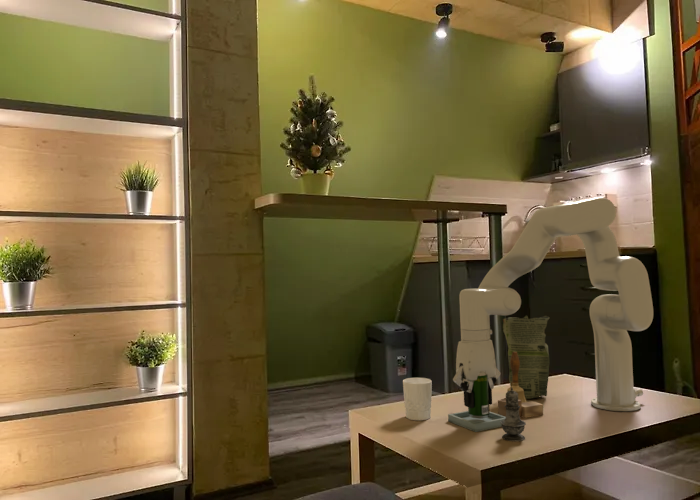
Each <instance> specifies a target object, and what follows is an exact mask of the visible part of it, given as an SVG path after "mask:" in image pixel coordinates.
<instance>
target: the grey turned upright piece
mask: <svg viewBox="0 0 700 500" xmlns="http://www.w3.org/2000/svg"><path fill="white" fill-rule="evenodd" d="M510 387H511V386H510ZM505 398H506V405H505V406H504V407H505V408H506V418H505V419H504V420H502V421H500V423H501V424H502V427H501V428H502V430H503V431H504V432H505V433H504V434H502V436H501V438H502V439H503V440H505V441H509V442H522V441H525V440H526V437H525V436H524V435H523V434H522V433H524V430H525V428H526V427H525V426H526V425H527V423H526V421H524V420H522V419H521V417H520V416H519V408H520V406H519V405H518V393H517V392H515V391H513V388H512V387H511V390H510V391H508V392H506V393H505Z"/></svg>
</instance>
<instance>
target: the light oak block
mask: <svg viewBox="0 0 700 500" xmlns="http://www.w3.org/2000/svg"><path fill="white" fill-rule="evenodd" d="M543 415H544V405H543V404H542V403H540V402H537V401H533V400H532V401H527V402H524V403H522V416H523V418H530V417H531V416H532V417H537V416H543Z"/></svg>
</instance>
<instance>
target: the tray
mask: <svg viewBox="0 0 700 500" xmlns="http://www.w3.org/2000/svg"><path fill="white" fill-rule="evenodd" d="M447 417H448V418H447V420H448V422H449V423H452V424H454V425H457V426H460V427H462V428H465V429H467V430H469V431H472V432H474V433H477V432H482V431H486V430H487V431H488V430H492V429H497V428H502V424H501V423H500V421H502V420H504V419H505V418H506V417H505V416H502V415H499V414H498V413H495V412H492V411H490V410H489V416H488V417H487V418H482V419H478V418H472V417H470V415H469V413H468V410H465V411H459V412H455V413H449V414H447Z"/></svg>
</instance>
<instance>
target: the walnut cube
mask: <svg viewBox="0 0 700 500" xmlns="http://www.w3.org/2000/svg"><path fill="white" fill-rule="evenodd" d="M505 405H506V397H505V398H501V399H497V414H499V415H502V416H505V417H506V408H505V407H504V406H505ZM518 405H519V406H520V408H519V416H520V418H522V401H521V400H518Z"/></svg>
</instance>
